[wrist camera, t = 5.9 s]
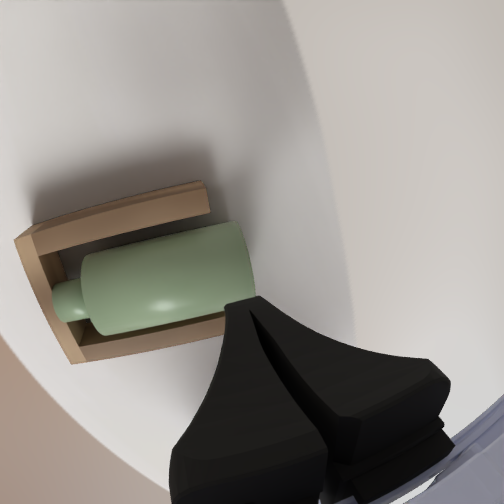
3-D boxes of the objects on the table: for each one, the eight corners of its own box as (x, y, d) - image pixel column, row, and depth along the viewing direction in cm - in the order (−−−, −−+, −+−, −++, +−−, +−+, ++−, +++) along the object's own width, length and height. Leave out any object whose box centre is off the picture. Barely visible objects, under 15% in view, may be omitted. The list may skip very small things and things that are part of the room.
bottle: (258, 320, 15) (71, 359, 13) (238, 274, 19) (83, 308, 17) (249, 244, 13) (32, 294, 11) (229, 208, 17) (56, 249, 15)
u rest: (226, 308, 19) (234, 331, 17) (78, 340, 17) (71, 364, 15) (201, 180, 16) (206, 187, 14) (31, 225, 14) (13, 239, 12)
